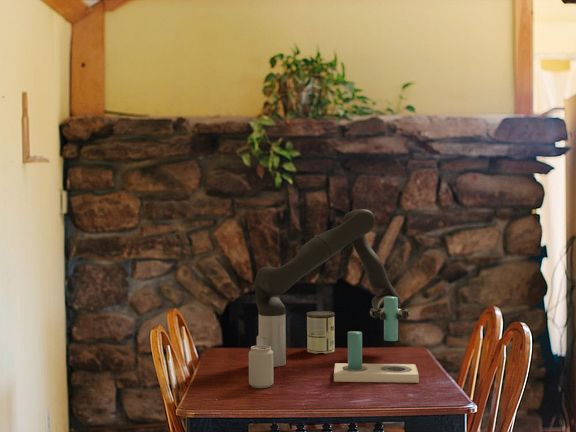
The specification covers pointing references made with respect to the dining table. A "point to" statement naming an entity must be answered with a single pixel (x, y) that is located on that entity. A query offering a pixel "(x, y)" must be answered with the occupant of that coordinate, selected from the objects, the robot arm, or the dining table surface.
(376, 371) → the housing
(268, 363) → the can
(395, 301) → the pin
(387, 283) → the robot arm
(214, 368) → the dining table surface
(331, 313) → the coffee can
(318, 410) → the dining table surface
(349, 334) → the seated pin
